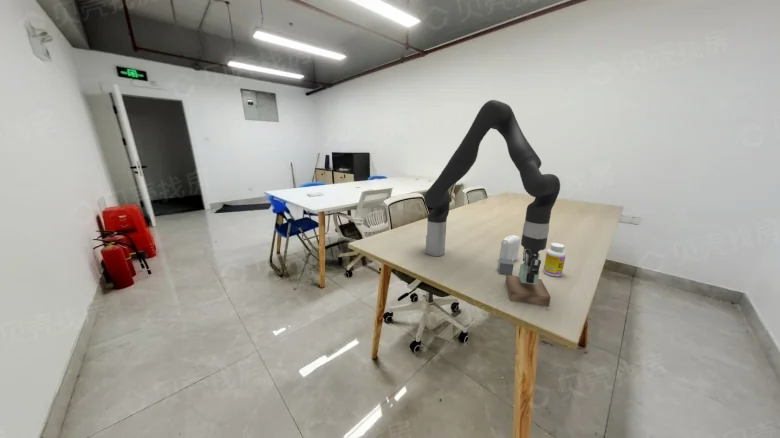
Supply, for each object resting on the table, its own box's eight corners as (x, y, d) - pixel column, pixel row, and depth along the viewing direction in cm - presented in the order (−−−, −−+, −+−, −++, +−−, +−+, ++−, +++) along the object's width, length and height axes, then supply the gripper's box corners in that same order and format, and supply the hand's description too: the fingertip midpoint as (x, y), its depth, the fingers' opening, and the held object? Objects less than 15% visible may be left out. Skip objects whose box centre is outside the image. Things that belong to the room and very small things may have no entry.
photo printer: (510, 256, 121) (513, 232, 118) (518, 259, 118) (522, 235, 114) (497, 261, 116) (500, 236, 112) (506, 265, 112) (509, 239, 109)
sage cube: (521, 282, 87) (523, 269, 86) (518, 275, 92) (520, 263, 91) (537, 284, 86) (539, 271, 85) (533, 277, 91) (535, 265, 89)
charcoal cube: (499, 273, 105) (500, 263, 104) (497, 268, 110) (499, 258, 108) (511, 275, 104) (513, 264, 102) (510, 269, 108) (511, 259, 107)
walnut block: (509, 301, 87) (511, 291, 86) (505, 284, 98) (506, 274, 97) (548, 307, 83) (550, 296, 82) (539, 288, 94) (541, 279, 93)
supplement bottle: (557, 278, 101) (563, 249, 97) (540, 272, 106) (545, 244, 102) (564, 273, 104) (570, 245, 101) (547, 268, 109) (552, 240, 106)
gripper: (518, 226, 92) (513, 268, 97) (527, 240, 79) (520, 287, 83) (541, 228, 90) (534, 270, 94) (554, 242, 77) (545, 290, 81)
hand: (527, 278), depth 89 cm, fingers closed on sage cube, 5 cm apart
